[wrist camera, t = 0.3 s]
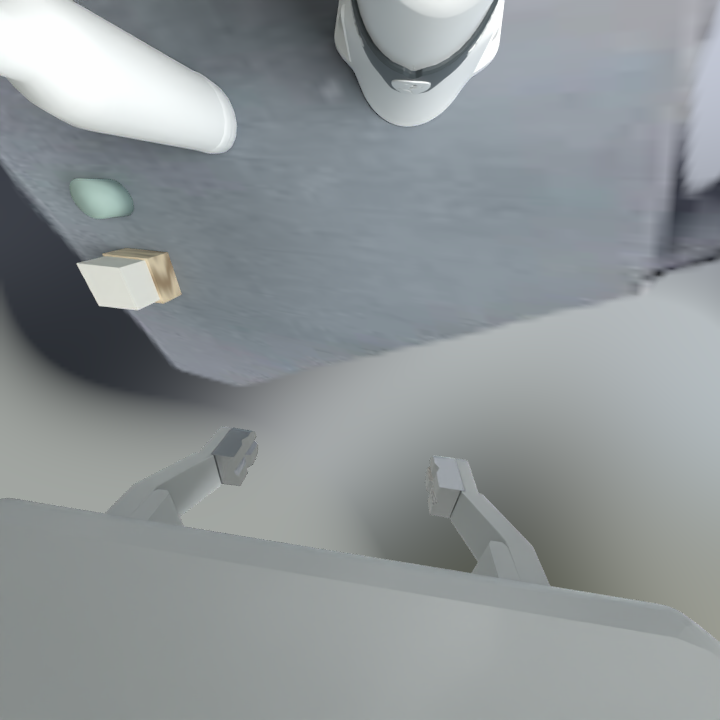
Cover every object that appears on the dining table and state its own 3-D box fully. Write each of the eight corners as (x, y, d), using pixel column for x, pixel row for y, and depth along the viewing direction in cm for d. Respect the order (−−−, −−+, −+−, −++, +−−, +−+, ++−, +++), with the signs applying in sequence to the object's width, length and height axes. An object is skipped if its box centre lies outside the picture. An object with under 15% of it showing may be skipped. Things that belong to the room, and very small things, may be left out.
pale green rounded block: (95, 177, 42) (62, 176, 38) (125, 180, 41) (96, 180, 37) (110, 214, 45) (81, 217, 40) (138, 217, 44) (112, 220, 40)
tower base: (127, 247, 48) (102, 253, 44) (168, 252, 47) (147, 258, 43) (144, 289, 52) (123, 298, 48) (182, 294, 52) (164, 303, 48)
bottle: (243, 156, 38) (-37, 99, 13) (192, 154, 38) (-168, 96, 14) (230, 77, 33) (-236, -233, 9) (172, 77, 34) (-420, -218, 9)
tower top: (106, 255, 44) (76, 263, 40) (144, 260, 43) (119, 267, 39) (124, 295, 48) (98, 305, 44) (160, 299, 47) (138, 310, 43)
